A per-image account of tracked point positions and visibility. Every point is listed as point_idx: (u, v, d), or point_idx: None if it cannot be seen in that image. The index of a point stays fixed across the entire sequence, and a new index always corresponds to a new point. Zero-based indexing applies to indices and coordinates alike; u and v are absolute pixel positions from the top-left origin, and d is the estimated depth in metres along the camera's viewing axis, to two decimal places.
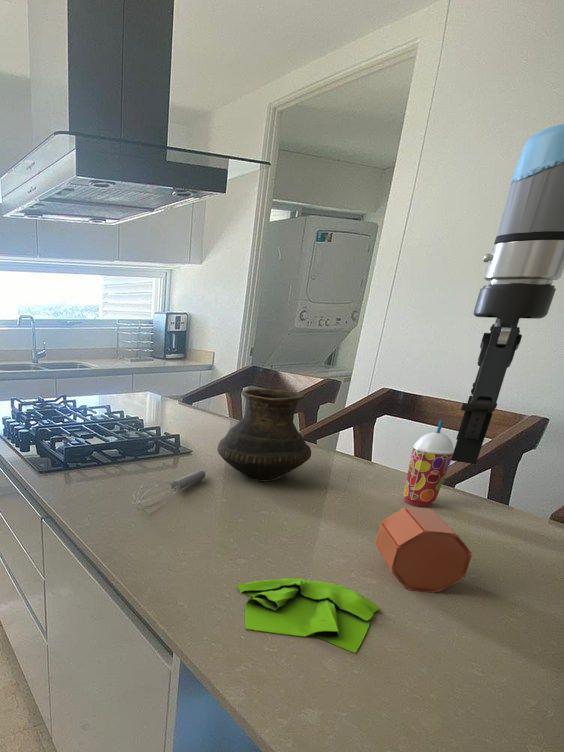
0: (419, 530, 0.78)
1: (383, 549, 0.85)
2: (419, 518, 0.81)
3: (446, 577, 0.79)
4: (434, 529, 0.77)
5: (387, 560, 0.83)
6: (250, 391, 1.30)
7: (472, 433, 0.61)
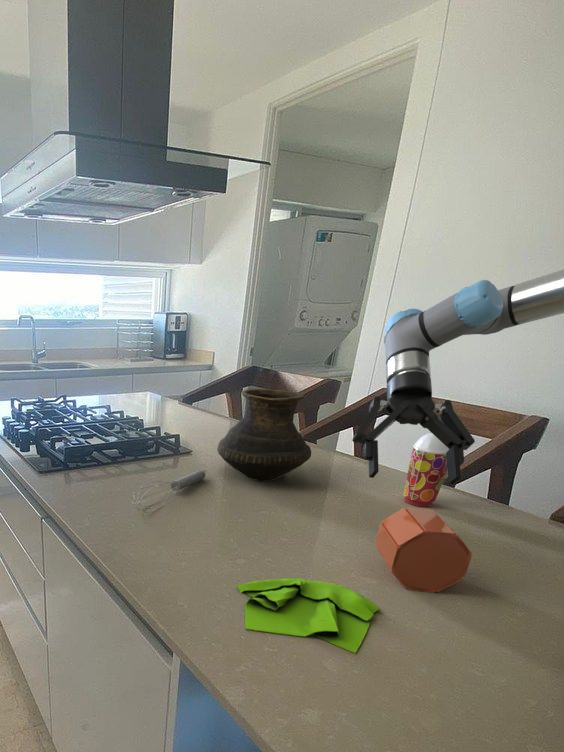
0: (419, 530, 0.78)
1: (383, 549, 0.85)
2: (419, 518, 0.81)
3: (446, 577, 0.79)
4: (434, 529, 0.77)
5: (387, 560, 0.83)
6: (250, 391, 1.30)
7: (364, 454, 0.92)
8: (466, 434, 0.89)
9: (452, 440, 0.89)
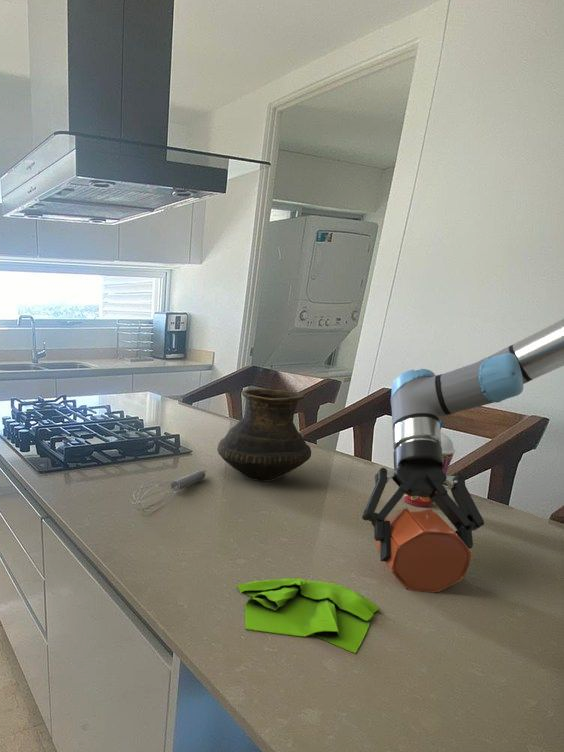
0: (419, 530, 0.78)
1: None
2: (419, 518, 0.81)
3: (446, 577, 0.79)
4: (434, 529, 0.77)
5: (387, 560, 0.83)
6: (250, 391, 1.30)
7: (375, 535, 0.84)
8: (476, 514, 0.82)
9: (460, 520, 0.82)
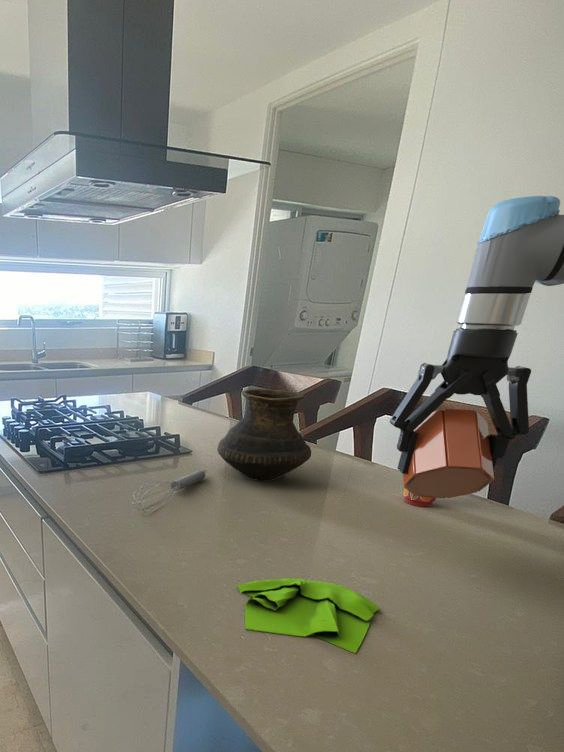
0: (442, 462, 0.72)
1: None
2: (451, 436, 0.73)
3: (460, 491, 0.78)
4: (459, 461, 0.71)
5: None
6: (250, 391, 1.30)
7: (398, 446, 0.78)
8: (523, 421, 0.72)
9: (501, 429, 0.73)
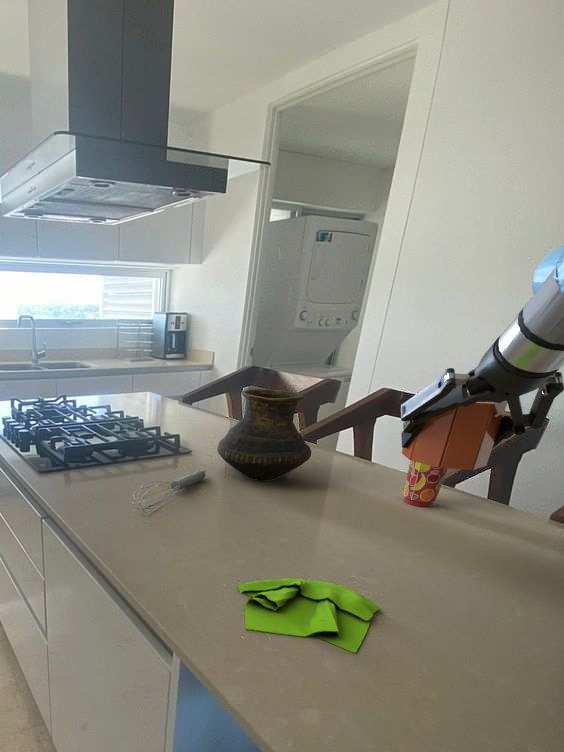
0: (436, 461, 0.74)
1: None
2: (455, 435, 0.72)
3: None
4: (453, 463, 0.74)
5: None
6: (250, 391, 1.30)
7: (404, 426, 0.77)
8: (538, 421, 0.68)
9: (513, 424, 0.70)
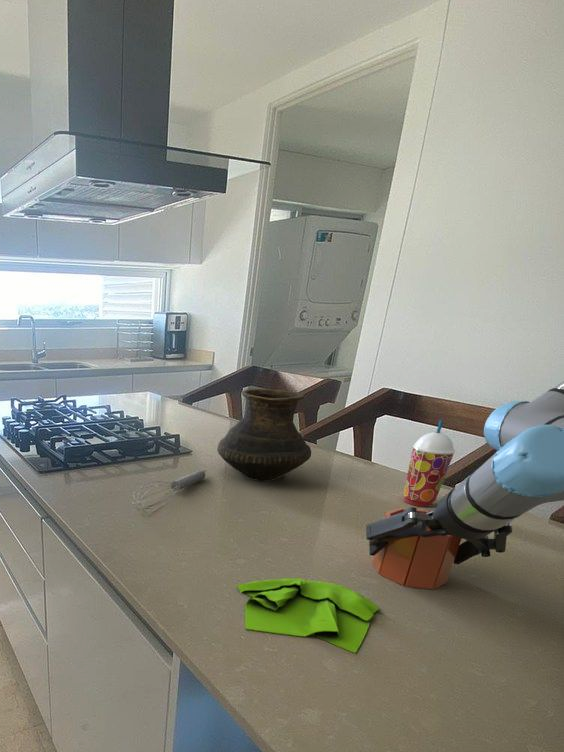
0: (401, 580, 0.83)
1: None
2: (417, 560, 0.80)
3: None
4: (416, 583, 0.82)
5: None
6: (250, 391, 1.30)
7: (370, 539, 0.84)
8: (500, 548, 0.76)
9: None
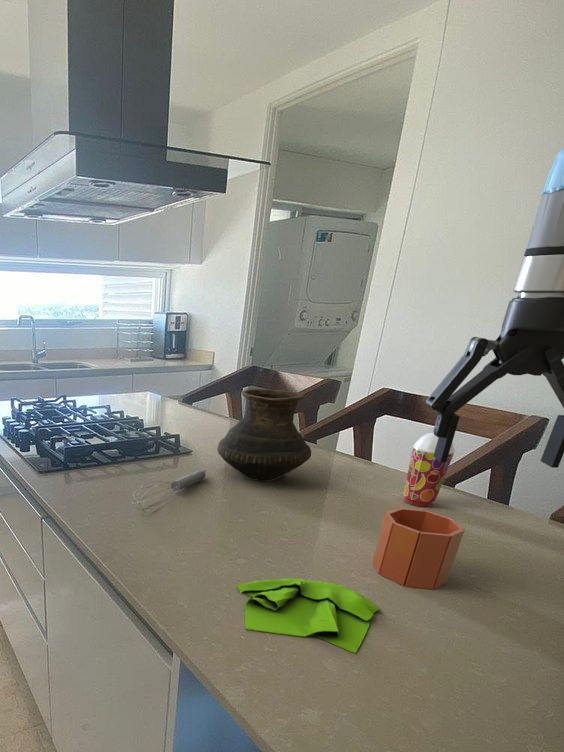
0: (401, 580, 0.83)
1: (380, 539, 0.87)
2: (417, 560, 0.80)
3: None
4: (416, 583, 0.82)
5: (375, 552, 0.88)
6: (250, 391, 1.30)
7: (435, 431, 0.68)
8: None
9: None
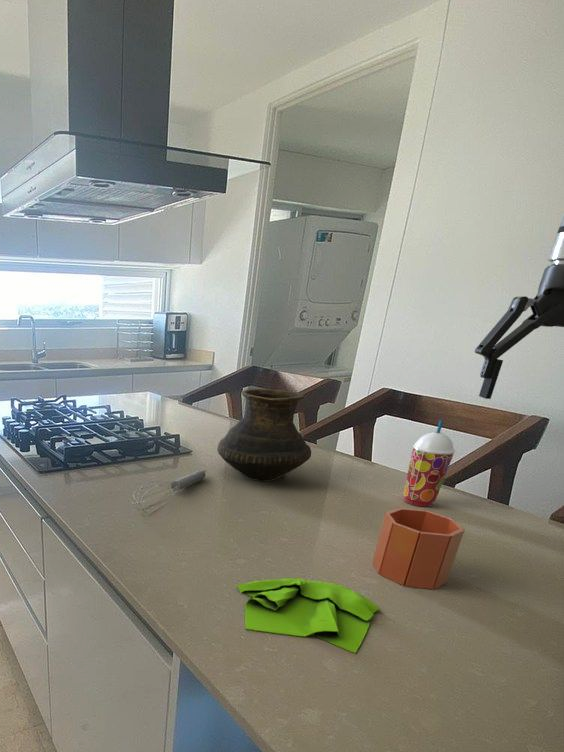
0: (401, 580, 0.83)
1: (380, 539, 0.87)
2: (417, 560, 0.80)
3: None
4: (416, 583, 0.82)
5: (375, 552, 0.88)
6: (250, 391, 1.30)
7: (482, 373, 0.85)
8: None
9: None
